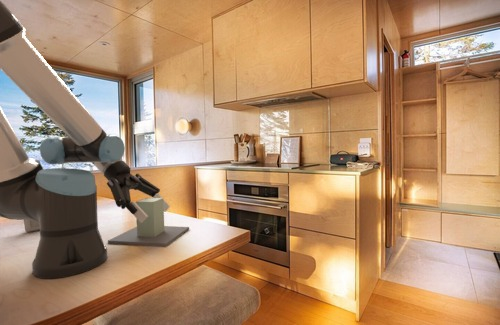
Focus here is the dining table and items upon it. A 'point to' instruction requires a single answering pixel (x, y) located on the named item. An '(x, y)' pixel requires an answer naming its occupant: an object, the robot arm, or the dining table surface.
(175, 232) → the mat
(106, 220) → the dining table surface
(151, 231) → the sage block
